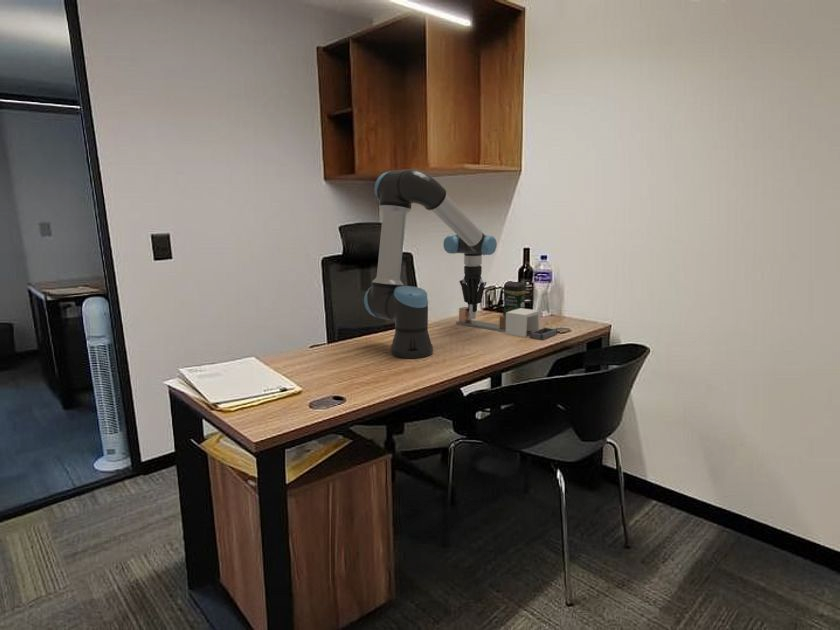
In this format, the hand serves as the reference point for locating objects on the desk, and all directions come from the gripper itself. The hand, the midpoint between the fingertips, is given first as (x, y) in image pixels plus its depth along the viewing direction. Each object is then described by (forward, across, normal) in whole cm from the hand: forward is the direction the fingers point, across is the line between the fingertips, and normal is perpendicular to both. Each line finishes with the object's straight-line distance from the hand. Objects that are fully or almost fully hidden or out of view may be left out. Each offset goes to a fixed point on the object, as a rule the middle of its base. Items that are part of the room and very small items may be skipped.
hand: (472, 318), depth 227 cm
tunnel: (+3, -25, 0) cm, 25 cm away
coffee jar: (+3, -12, -15) cm, 19 cm away
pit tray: (+3, -34, 0) cm, 35 cm away
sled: (+3, -8, 0) cm, 8 cm away
